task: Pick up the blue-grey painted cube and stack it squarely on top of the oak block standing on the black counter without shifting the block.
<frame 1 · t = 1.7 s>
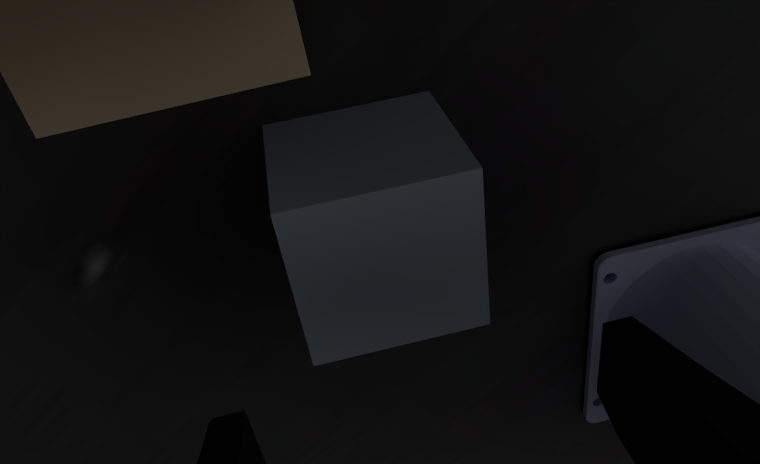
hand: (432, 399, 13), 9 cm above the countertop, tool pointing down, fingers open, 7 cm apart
blue-grey cube: (359, 179, 20), on the countertop
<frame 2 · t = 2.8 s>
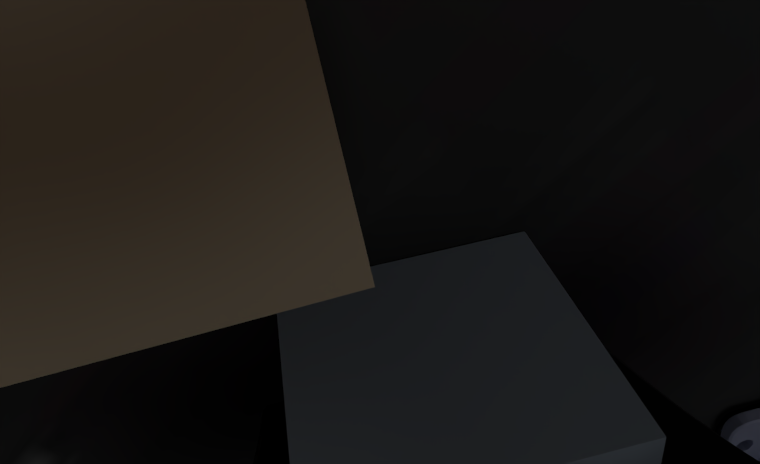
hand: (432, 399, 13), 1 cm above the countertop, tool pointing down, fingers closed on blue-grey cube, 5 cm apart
oak block: (80, 9, 9), on the countertop
blue-grey cube: (415, 349, 14), on the countertop, touching gripper
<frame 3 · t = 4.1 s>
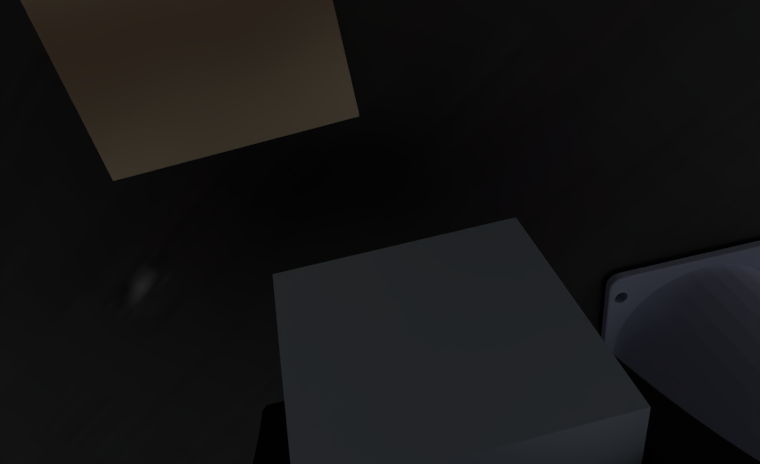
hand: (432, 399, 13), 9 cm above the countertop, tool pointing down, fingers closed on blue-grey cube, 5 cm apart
blue-grey cube: (410, 335, 14), point 8 cm above the countertop, touching gripper
when the fingers open (6 cm above the countertop, at t = 5.6 s): blue-grey cube stays where it is, point 4 cm above the countertop.
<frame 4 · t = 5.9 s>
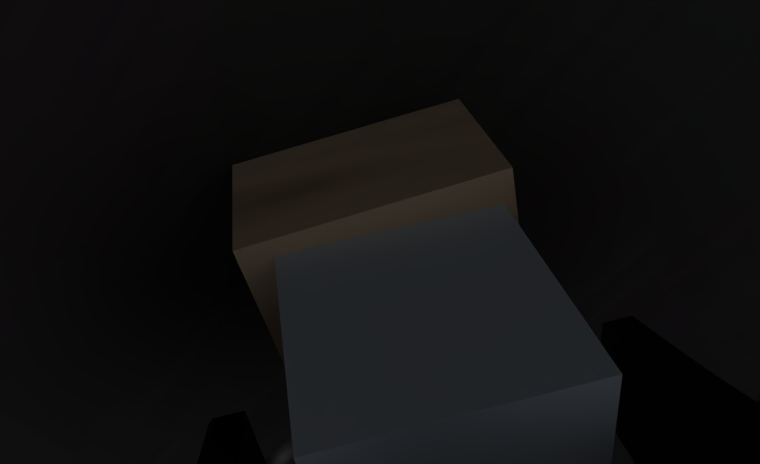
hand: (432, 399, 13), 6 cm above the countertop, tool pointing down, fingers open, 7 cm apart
oak block: (371, 221, 18), on the countertop
blue-grey cube: (404, 316, 15), point 4 cm above the countertop
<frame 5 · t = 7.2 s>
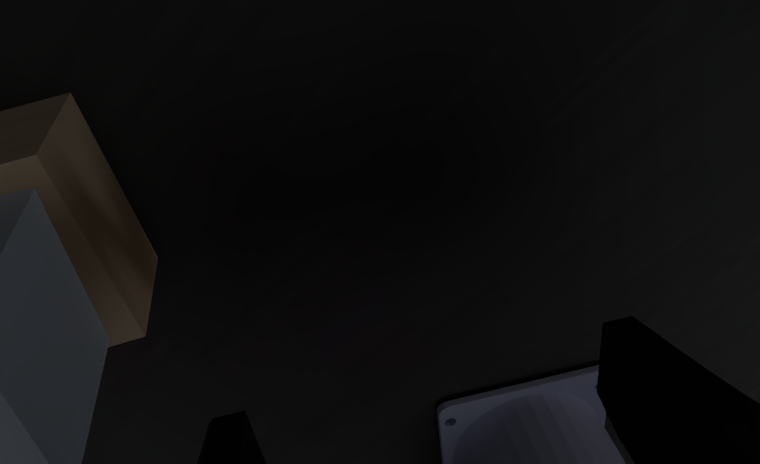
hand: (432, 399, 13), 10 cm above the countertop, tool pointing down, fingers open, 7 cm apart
oak block: (23, 206, 19), on the countertop, touching blue-grey cube
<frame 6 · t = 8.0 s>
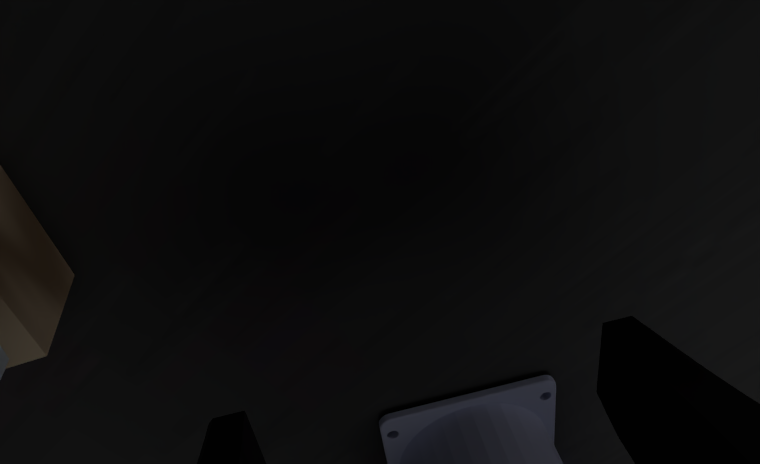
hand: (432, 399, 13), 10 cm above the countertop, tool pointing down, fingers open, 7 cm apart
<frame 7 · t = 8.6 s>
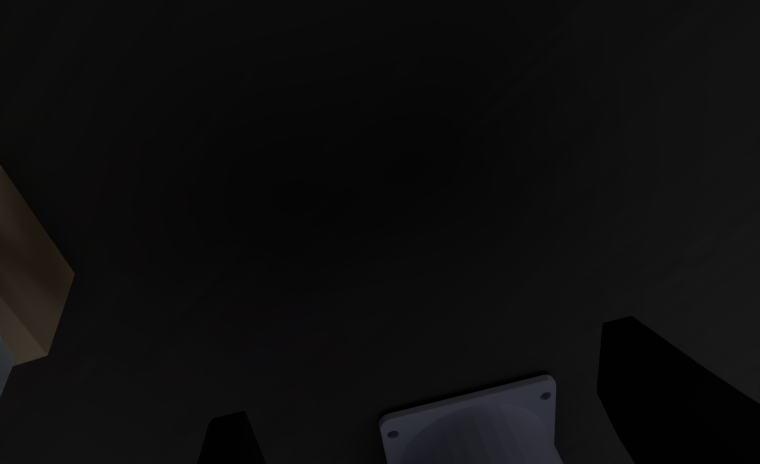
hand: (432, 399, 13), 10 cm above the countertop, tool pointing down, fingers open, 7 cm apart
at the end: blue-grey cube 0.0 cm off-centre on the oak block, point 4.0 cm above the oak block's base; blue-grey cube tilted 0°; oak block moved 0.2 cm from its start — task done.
